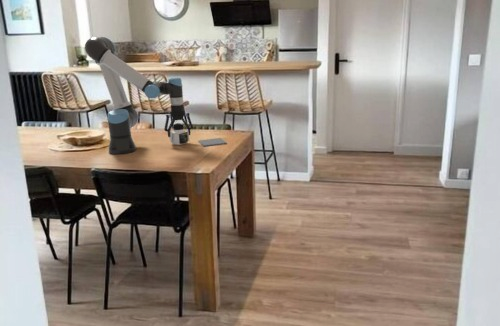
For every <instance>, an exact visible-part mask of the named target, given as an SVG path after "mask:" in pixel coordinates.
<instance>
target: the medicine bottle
mask: <svg viewBox="0 0 500 326" xmlns="http://www.w3.org/2000/svg"><path fill="white" fill-rule="evenodd" d="M172 128H173V131H171V134H172V143H171V144H172V145H177V146H182V145H185V144H189V141H188V135H187V131H186V130H185V124H184V123H183V122H178V123H174V124H173V126H172Z"/></svg>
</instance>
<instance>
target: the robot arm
mask: <svg viewBox="0 0 500 326" xmlns="http://www.w3.org/2000/svg"><path fill="white" fill-rule="evenodd" d="M115 50H116V47H115V44H114V43H113V41H112V40H111V39H109V38H107V37H103V36H99V37H97V36H96V37H95V36H94V37H90V38H89V39H88V40H86V42H85V44H84V51H85V53H86V55H87V56H88V57H89V58H90V59H92V60H93V61H94V62H95V64H96V65H98V66H99V68H100V70H101V73H102V76H103V79H104V81H105V84H106V87H107V90H108V92H109V95H110V98H111V101H112V105H113V107H112V110H110V111H109V112H107V116H106V117H107V125H108V131H109V139H110V140H109V144H108V153H109V154H111V153H112V154H111V155H125V154H129V153H134V152H135V151H136V150H137V147H136V144H135V141H134V140H133V138H132V130H131V128H133V127H135V125H136V124H137V122H138V120H139V113H138V111H137V110H136V109H135V108H134V107H133V104H132V103H131V102H130V101H128V97H127V94H126V91H125V89H124V85H123V83H122V79H121V78H123V79H124V80H125V81H127V82H128V83H130V84H132V85H133V86H134V87H135V88H137V89H139V90H140V91H141V92H143V94H145V96H146V97H147V98H148V99H151V100H152V99H156V98H158V97H159V96H161V95H163V96H165V95H168V96H169V102H170V114H168V113H166V114H165V118H166V119H165V123H164V128H163V130H164V131H165V132H167V137H168V138H169V143H170V144H172V134H171V132H172V131H171V129H173V125H174V124H175V122H176V121H182V124H184V127H186V130H185V131H187V135H188V142H190V136H191V130H192V129H194V127H193V123H192V121H191V117H190V113H189V112H185V110H184V109H185V108H184V97H183V96H184V95H183V93H184V92H183V83H182V78H181V77H169V78H168V81H167V80H166V81H151V80H150V79H149V78H147V77H146V76H144V75H143V74H142V73H140V72H139V71H138V70H136V69H134V68H133V67H132V66H131V65H129V64H127V63H126V62H125V61H124V60H122V59H121V58H119V57H118V56H116V54H115ZM171 117H172V119H171V122H170V121H169V120H170V118H171ZM184 117H186V119H187V121H188V123H187V121H186V120H185V118H184ZM169 122H170V124H169ZM188 124H189V125H188ZM168 125H169V126H168Z"/></svg>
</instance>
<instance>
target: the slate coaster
mask: <svg viewBox="0 0 500 326" xmlns="http://www.w3.org/2000/svg"><path fill="white" fill-rule="evenodd" d="M197 142H198V143H199V144H200V145H201V146H203V147H204V148H205V147H210V146H211V147H213V146H214V147H215V146H220V145H221V146H222V145H227V141H225V140H224V139H223V138H221V137H217V138H215V137H214V138H207V139H200V140H198V141H197Z"/></svg>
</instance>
